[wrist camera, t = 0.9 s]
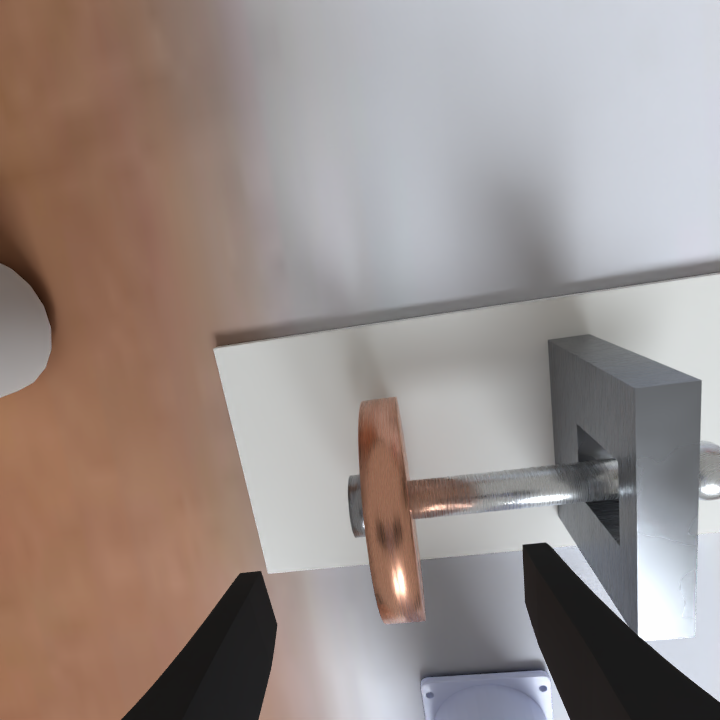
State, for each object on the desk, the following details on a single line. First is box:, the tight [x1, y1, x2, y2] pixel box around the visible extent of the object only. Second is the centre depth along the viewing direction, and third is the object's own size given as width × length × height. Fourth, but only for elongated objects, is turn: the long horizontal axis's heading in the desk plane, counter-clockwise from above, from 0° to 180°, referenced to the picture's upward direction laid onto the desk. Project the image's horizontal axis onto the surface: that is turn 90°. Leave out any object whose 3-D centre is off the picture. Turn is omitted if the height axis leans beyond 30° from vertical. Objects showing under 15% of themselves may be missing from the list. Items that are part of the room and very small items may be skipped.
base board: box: [213, 272, 720, 574], centre depth 23 cm, size 14×26×1 cm, turn 99°
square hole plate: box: [548, 334, 702, 641], centre depth 19 cm, size 10×2×8 cm, turn 9°
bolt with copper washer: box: [348, 397, 720, 624], centre depth 18 cm, size 9×16×9 cm, turn 99°
